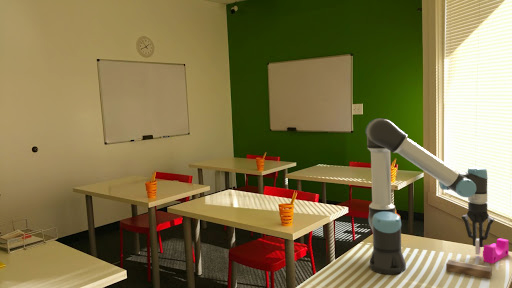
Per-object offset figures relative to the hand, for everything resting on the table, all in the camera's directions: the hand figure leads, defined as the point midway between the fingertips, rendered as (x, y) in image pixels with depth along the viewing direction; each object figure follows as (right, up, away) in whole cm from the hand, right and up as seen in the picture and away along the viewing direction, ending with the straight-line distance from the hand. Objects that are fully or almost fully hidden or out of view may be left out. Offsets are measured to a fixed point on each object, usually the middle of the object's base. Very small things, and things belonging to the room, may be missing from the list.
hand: (477, 253), depth 181 cm
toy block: (+6, -2, -2) cm, 6 cm away
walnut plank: (-13, -4, -16) cm, 21 cm away
